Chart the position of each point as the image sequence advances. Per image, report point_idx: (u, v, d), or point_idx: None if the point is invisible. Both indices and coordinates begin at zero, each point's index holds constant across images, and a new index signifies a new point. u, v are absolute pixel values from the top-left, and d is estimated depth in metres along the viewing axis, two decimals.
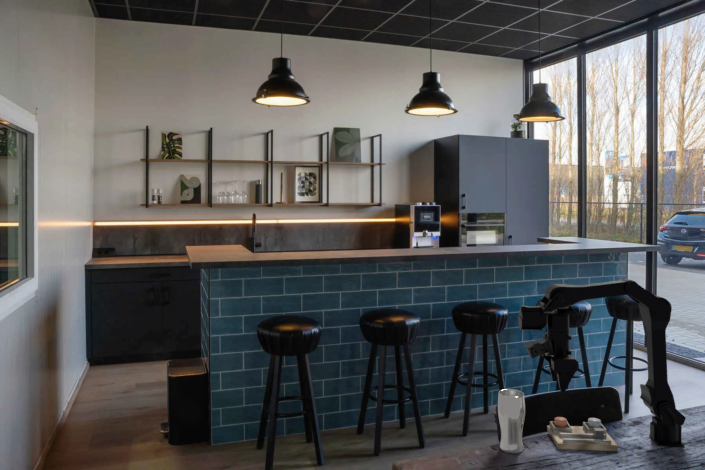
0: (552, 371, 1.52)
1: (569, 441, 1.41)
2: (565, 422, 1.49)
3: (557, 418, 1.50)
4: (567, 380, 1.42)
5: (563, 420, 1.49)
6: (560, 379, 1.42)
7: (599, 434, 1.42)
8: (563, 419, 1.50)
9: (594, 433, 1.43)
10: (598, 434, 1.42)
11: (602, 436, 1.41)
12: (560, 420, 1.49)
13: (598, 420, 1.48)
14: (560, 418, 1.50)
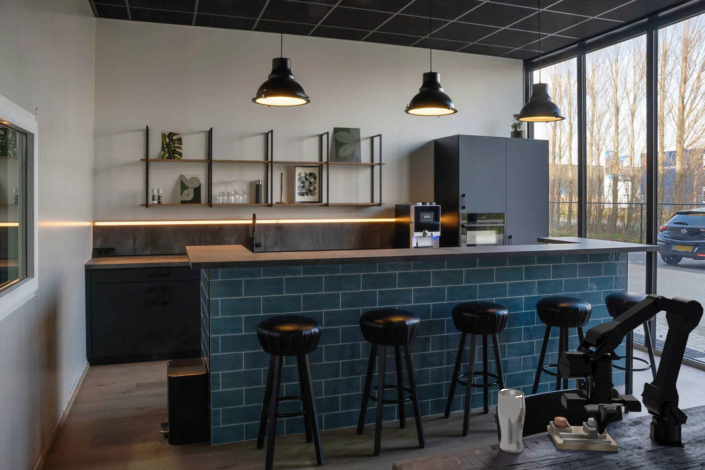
0: None
1: (569, 441, 1.41)
2: (565, 422, 1.49)
3: (557, 418, 1.50)
4: (596, 422, 1.41)
5: (563, 420, 1.49)
6: (593, 418, 1.43)
7: (594, 434, 1.42)
8: (563, 419, 1.50)
9: (588, 433, 1.43)
10: (592, 434, 1.42)
11: (596, 436, 1.42)
12: (560, 420, 1.49)
13: None
14: (560, 418, 1.50)
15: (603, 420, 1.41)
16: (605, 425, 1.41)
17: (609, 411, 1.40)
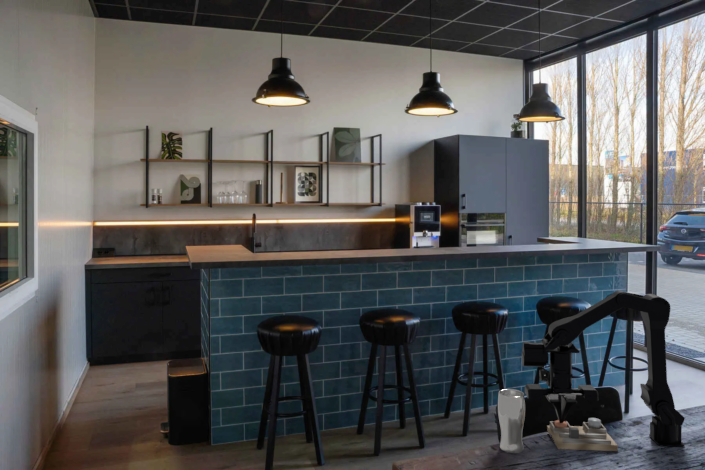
0: None
1: (569, 441, 1.41)
2: (565, 425, 1.49)
3: (557, 421, 1.50)
4: (556, 411, 1.49)
5: (563, 423, 1.49)
6: None
7: (575, 433, 1.42)
8: (563, 422, 1.50)
9: (570, 432, 1.43)
10: (573, 433, 1.42)
11: (577, 435, 1.42)
12: (560, 423, 1.49)
13: (598, 420, 1.48)
14: None
15: (563, 409, 1.48)
16: (565, 414, 1.48)
17: (568, 400, 1.47)
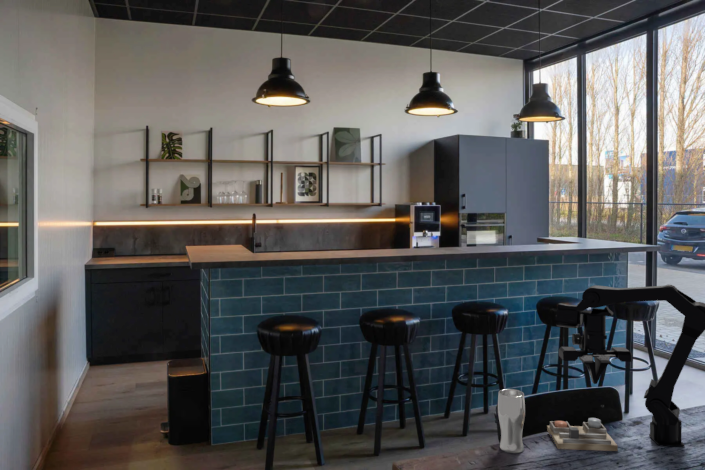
0: None
1: (569, 441, 1.41)
2: (565, 426, 1.49)
3: (557, 422, 1.51)
4: (590, 372, 1.53)
5: (563, 423, 1.49)
6: (588, 369, 1.55)
7: (575, 433, 1.42)
8: (563, 423, 1.50)
9: (570, 432, 1.43)
10: (573, 433, 1.42)
11: (577, 435, 1.42)
12: (560, 424, 1.49)
13: (598, 420, 1.48)
14: (560, 422, 1.50)
15: (597, 370, 1.53)
16: (599, 374, 1.52)
17: (603, 361, 1.52)
